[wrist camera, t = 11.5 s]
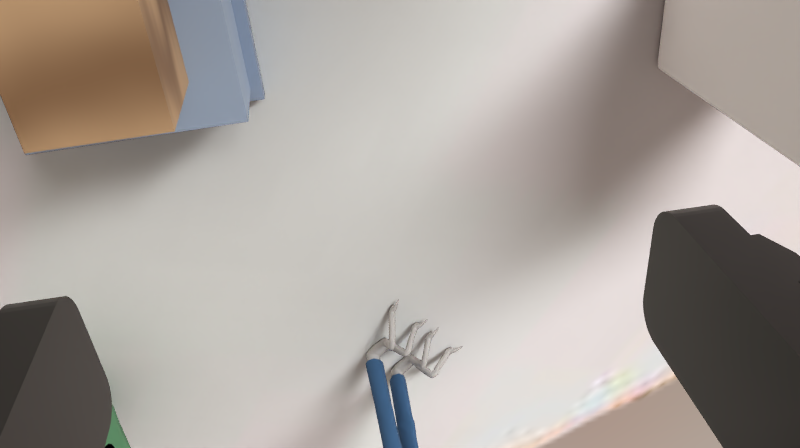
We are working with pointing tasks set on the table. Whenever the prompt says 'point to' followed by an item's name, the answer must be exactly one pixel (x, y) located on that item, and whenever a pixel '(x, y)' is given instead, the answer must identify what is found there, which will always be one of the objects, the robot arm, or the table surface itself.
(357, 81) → the table surface
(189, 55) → the pedestal
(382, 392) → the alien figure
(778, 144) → the milk carton
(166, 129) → the walnut block
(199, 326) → the table surface
